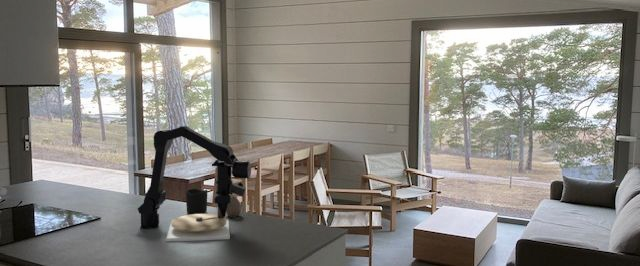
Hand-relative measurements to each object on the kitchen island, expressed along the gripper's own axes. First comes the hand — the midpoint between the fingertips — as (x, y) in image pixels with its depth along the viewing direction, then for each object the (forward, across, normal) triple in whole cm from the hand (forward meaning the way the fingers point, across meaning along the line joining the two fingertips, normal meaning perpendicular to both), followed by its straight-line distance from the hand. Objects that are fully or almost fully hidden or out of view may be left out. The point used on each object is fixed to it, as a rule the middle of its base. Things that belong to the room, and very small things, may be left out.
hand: (223, 216), depth 207 cm
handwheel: (+4, -1, +9) cm, 10 cm away
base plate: (+6, -1, +9) cm, 11 cm away
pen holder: (+5, +29, +14) cm, 32 cm away
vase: (+5, +22, -3) cm, 23 cm away
